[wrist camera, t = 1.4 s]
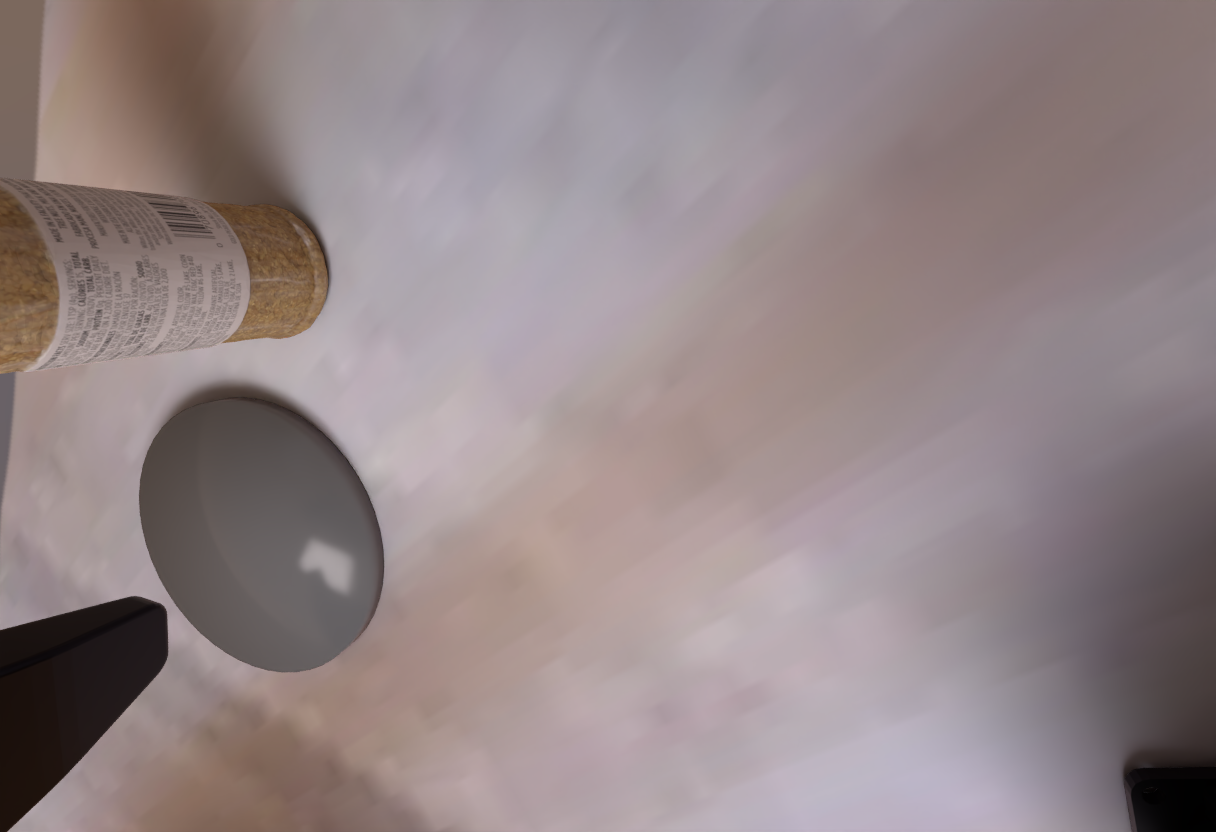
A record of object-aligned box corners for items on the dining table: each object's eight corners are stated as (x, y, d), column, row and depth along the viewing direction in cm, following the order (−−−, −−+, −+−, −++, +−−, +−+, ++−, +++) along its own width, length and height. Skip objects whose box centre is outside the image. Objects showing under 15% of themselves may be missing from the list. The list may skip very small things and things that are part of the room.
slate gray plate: (421, 649, 24) (408, 661, 23) (215, 669, 28) (199, 680, 27) (325, 367, 23) (308, 370, 22) (121, 429, 26) (101, 434, 26)
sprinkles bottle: (209, 268, 23) (-501, 274, 11) (273, 174, 21) (-482, 50, 9) (288, 365, 23) (-337, 484, 11) (359, 278, 21) (-286, 298, 9)
